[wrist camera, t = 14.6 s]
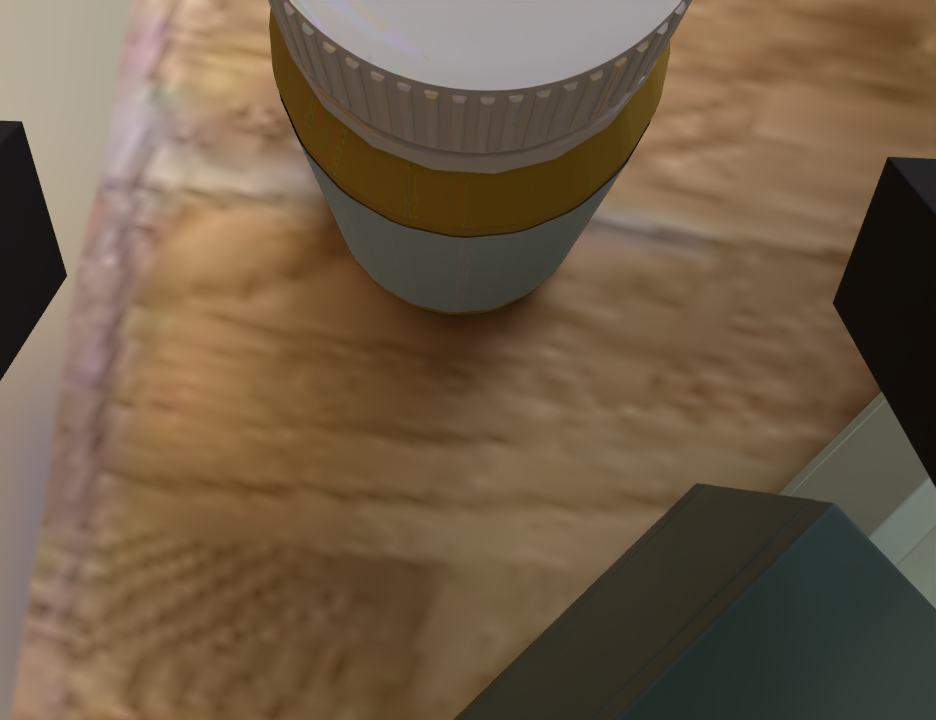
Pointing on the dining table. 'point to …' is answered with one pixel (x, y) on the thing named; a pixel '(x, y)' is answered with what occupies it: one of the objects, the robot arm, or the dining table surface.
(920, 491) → the drawer
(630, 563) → the cabinet
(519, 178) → the bottle
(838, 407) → the dining table surface
